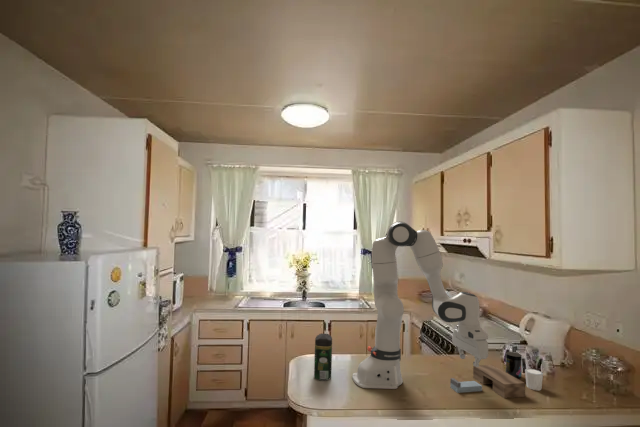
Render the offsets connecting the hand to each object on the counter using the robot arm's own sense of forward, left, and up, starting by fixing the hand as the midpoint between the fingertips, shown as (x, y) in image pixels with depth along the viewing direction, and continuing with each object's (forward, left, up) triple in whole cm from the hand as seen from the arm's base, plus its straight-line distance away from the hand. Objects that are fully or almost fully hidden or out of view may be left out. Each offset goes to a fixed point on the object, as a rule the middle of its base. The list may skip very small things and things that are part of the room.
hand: (469, 362), depth 152 cm
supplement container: (+31, +9, -11) cm, 34 cm away
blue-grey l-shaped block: (-1, 0, -12) cm, 12 cm away
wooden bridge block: (+15, 0, -11) cm, 18 cm away
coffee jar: (-60, +20, -11) cm, 65 cm away
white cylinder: (+31, -3, -12) cm, 33 cm away
